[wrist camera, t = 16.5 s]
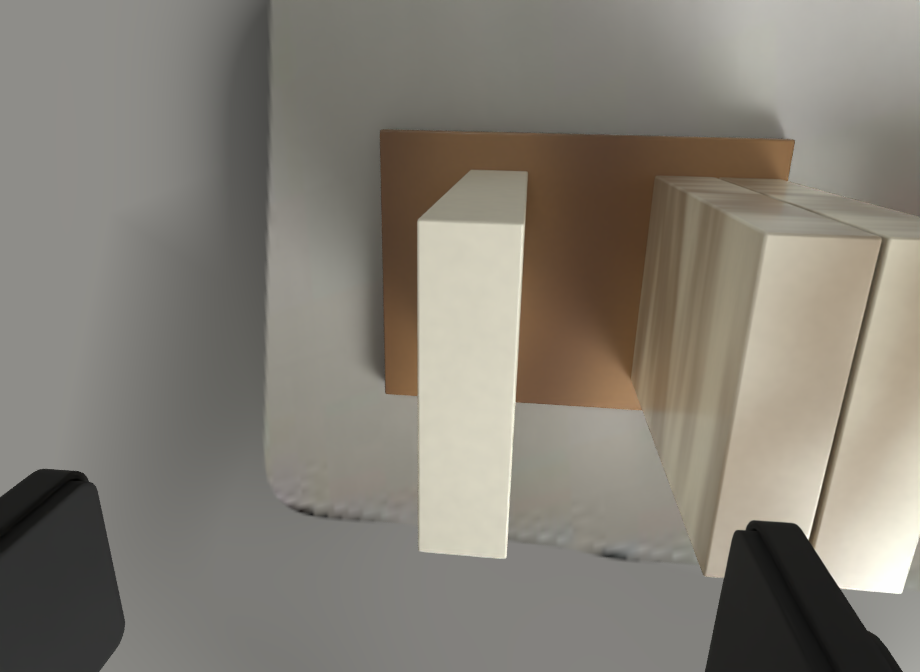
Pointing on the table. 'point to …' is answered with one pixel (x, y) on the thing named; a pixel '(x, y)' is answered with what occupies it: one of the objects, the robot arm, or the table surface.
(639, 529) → the table surface
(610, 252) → the cream board
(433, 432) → the cream book
